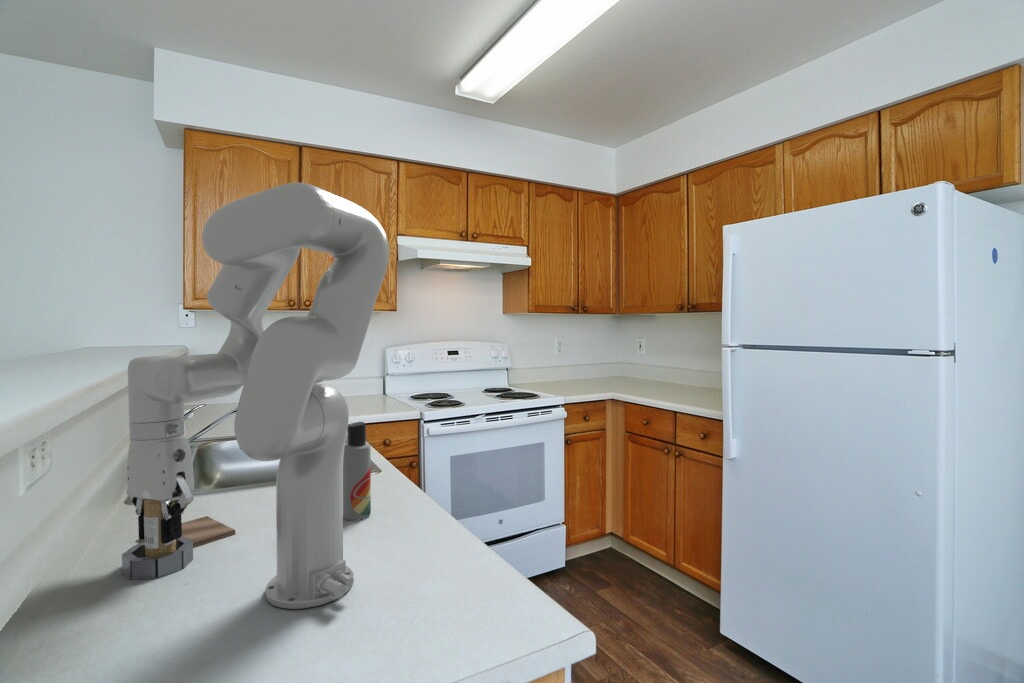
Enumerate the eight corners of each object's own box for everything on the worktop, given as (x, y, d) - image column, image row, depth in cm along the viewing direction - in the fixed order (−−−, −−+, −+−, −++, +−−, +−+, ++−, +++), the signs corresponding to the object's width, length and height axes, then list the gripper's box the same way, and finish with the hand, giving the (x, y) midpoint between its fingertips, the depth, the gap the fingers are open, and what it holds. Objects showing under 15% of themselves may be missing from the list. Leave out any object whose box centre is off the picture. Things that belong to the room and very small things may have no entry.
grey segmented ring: (200, 563, 87) (200, 545, 86) (136, 585, 79) (136, 566, 79) (177, 548, 92) (177, 532, 92) (115, 568, 85) (115, 550, 84)
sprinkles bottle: (181, 561, 86) (179, 482, 85) (148, 572, 82) (146, 489, 82) (172, 554, 89) (170, 477, 88) (140, 563, 85) (138, 484, 85)
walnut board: (235, 534, 99) (235, 529, 99) (165, 556, 89) (164, 552, 89) (207, 519, 106) (206, 516, 106) (138, 539, 96) (138, 535, 96)
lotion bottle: (374, 517, 108) (374, 423, 107) (347, 523, 104) (347, 426, 104) (365, 509, 112) (365, 419, 112) (339, 514, 109) (339, 422, 109)
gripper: (215, 428, 86) (217, 536, 86) (144, 423, 91) (147, 524, 92) (172, 438, 78) (175, 554, 79) (98, 431, 84) (102, 540, 85)
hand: (160, 537), depth 85 cm, fingers closed on sprinkles bottle, 4 cm apart
